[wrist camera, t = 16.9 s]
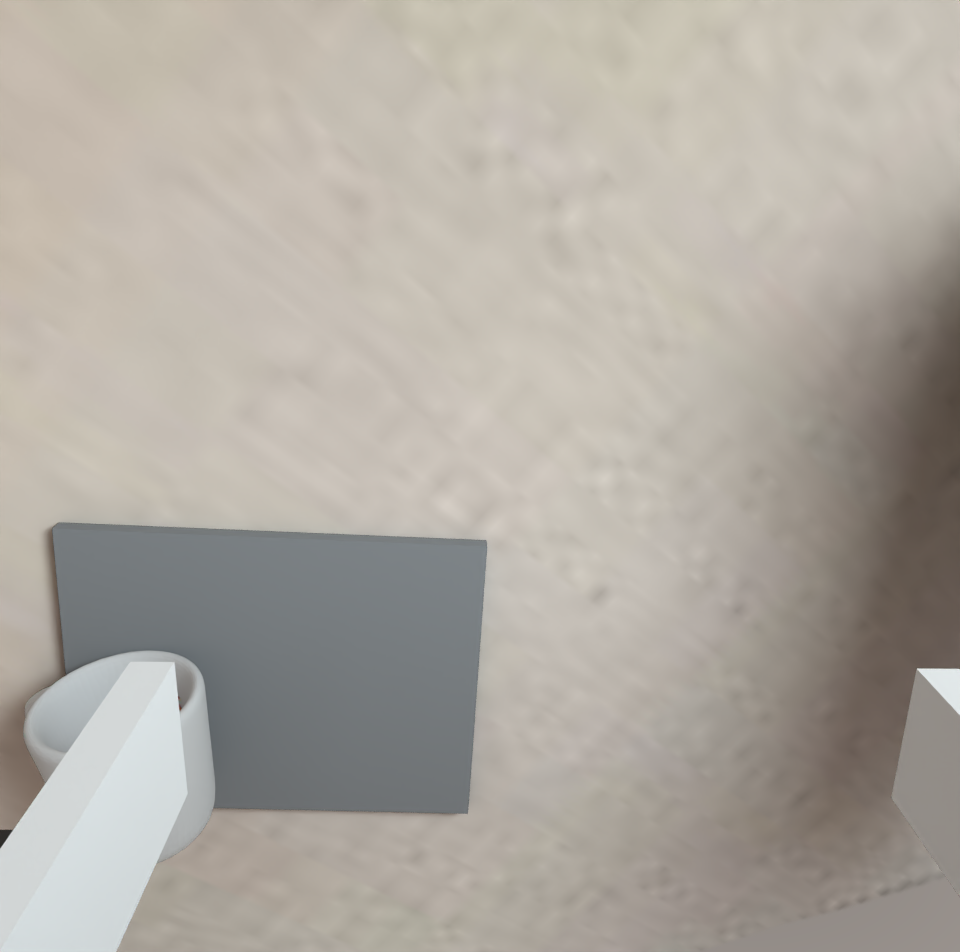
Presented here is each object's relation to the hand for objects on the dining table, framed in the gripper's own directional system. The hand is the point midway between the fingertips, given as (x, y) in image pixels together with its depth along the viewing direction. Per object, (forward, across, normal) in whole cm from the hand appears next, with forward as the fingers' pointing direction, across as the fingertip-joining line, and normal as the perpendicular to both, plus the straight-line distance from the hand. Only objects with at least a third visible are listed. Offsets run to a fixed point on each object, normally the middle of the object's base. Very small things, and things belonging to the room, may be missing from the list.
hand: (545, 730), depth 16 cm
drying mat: (+28, -11, -16) cm, 34 cm away
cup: (+24, -18, -22) cm, 37 cm away
